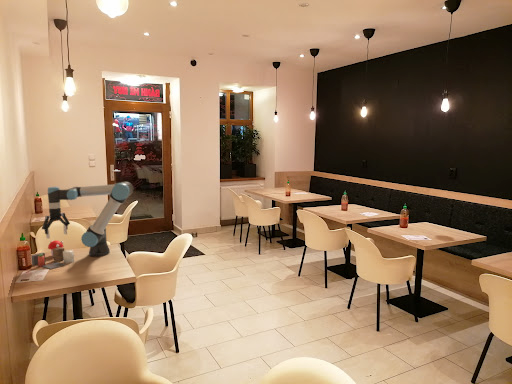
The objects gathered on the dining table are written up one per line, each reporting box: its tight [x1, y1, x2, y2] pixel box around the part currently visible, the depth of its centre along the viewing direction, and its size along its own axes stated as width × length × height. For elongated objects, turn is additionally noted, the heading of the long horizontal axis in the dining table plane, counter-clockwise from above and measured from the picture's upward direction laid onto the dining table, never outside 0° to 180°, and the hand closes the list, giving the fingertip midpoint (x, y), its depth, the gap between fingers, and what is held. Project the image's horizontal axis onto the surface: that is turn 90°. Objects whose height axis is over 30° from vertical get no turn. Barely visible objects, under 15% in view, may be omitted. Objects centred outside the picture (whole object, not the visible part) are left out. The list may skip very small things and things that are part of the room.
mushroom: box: [47, 239, 65, 257], centre depth 297 cm, size 11×11×12 cm
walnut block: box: [52, 247, 65, 263], centre depth 285 cm, size 6×6×9 cm
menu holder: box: [30, 252, 46, 266], centre depth 278 cm, size 8×3×7 cm, turn 150°
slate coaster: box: [41, 261, 67, 270], centre depth 273 cm, size 11×11×1 cm
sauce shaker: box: [37, 253, 46, 268], centre depth 273 cm, size 4×4×9 cm
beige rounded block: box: [63, 249, 75, 264], centre depth 281 cm, size 7×7×8 cm
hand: (57, 236), depth 283 cm, fingers open, 13 cm apart
